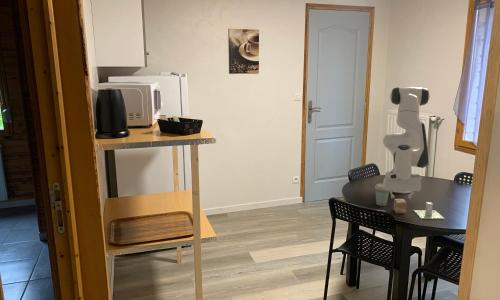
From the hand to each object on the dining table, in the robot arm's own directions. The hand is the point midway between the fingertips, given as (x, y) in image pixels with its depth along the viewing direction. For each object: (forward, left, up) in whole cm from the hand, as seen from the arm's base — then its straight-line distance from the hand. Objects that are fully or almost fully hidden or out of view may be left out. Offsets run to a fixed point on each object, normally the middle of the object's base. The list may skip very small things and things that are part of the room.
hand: (401, 198), depth 212 cm
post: (+4, +14, -8) cm, 17 cm away
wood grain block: (-1, 0, -8) cm, 8 cm away
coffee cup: (-13, -7, -9) cm, 17 cm away
